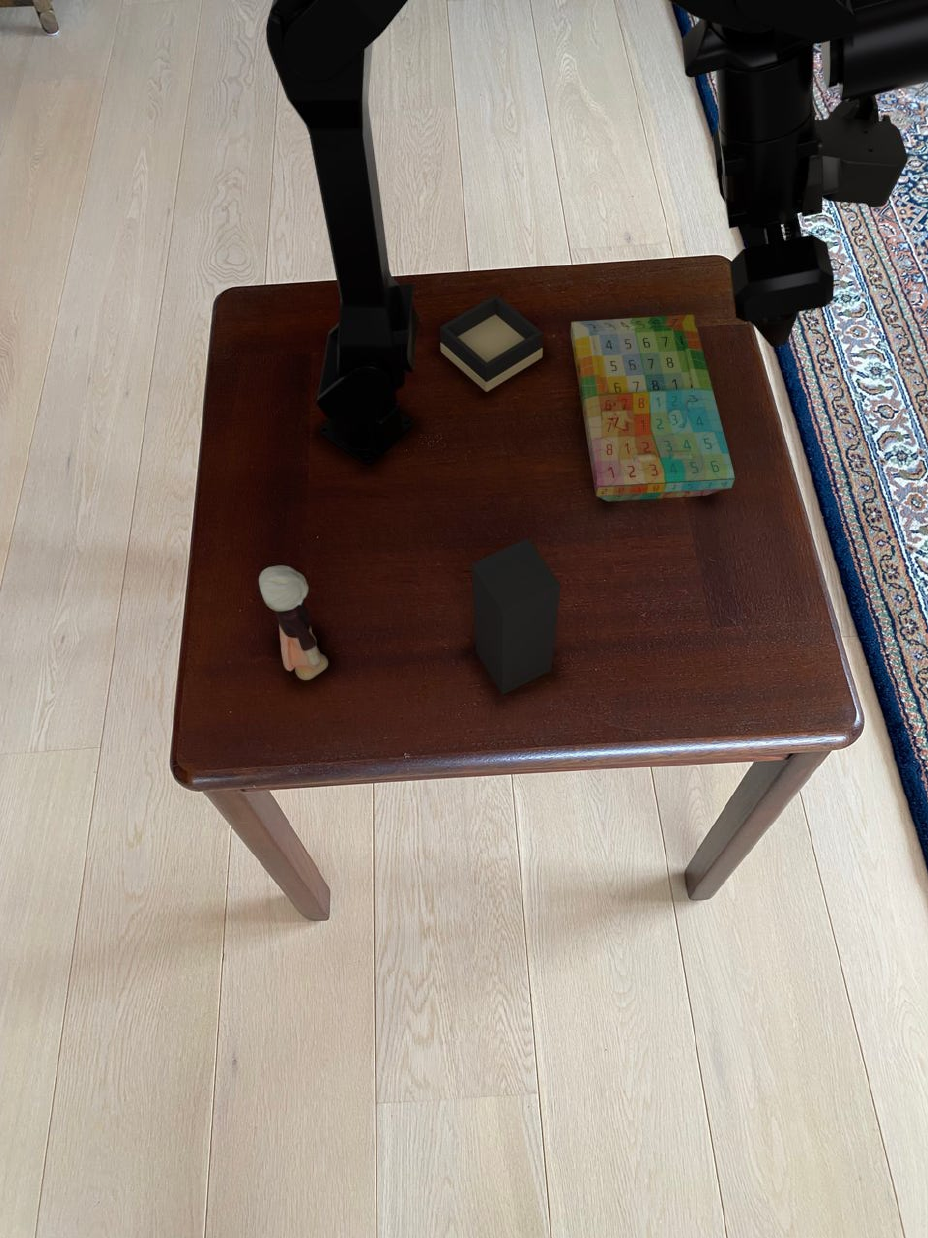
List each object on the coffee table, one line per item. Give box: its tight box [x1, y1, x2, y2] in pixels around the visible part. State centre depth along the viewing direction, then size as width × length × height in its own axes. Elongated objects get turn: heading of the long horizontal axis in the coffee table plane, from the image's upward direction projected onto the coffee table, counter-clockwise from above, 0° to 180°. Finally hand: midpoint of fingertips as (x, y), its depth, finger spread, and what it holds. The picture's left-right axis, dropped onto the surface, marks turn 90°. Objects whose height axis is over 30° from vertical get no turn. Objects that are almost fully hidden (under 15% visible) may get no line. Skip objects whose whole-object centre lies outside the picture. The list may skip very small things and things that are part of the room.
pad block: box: [471, 537, 562, 696], centre depth 69 cm, size 4×4×13 cm
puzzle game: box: [570, 314, 736, 502], centre depth 84 cm, size 12×5×20 cm
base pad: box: [439, 294, 544, 393], centre depth 90 cm, size 7×7×3 cm
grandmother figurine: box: [258, 564, 329, 681], centre depth 70 cm, size 8×4×13 cm, turn 37°
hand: (771, 301), depth 72 cm, fingers open, 9 cm apart
